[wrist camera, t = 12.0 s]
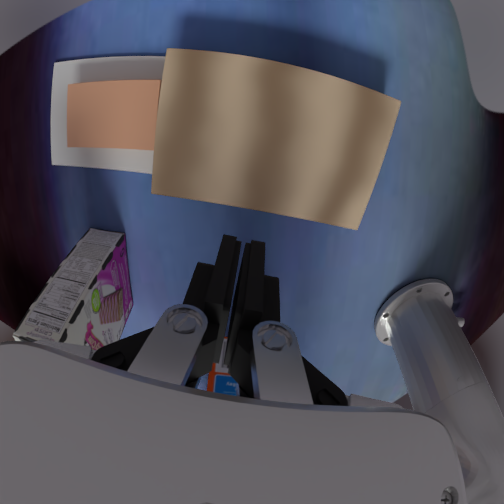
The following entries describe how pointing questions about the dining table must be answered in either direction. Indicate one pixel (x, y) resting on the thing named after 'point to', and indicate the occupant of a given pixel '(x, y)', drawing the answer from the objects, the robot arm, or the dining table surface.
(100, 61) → the mat
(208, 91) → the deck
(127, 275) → the candy bar box
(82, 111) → the block
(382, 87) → the dining table surface
